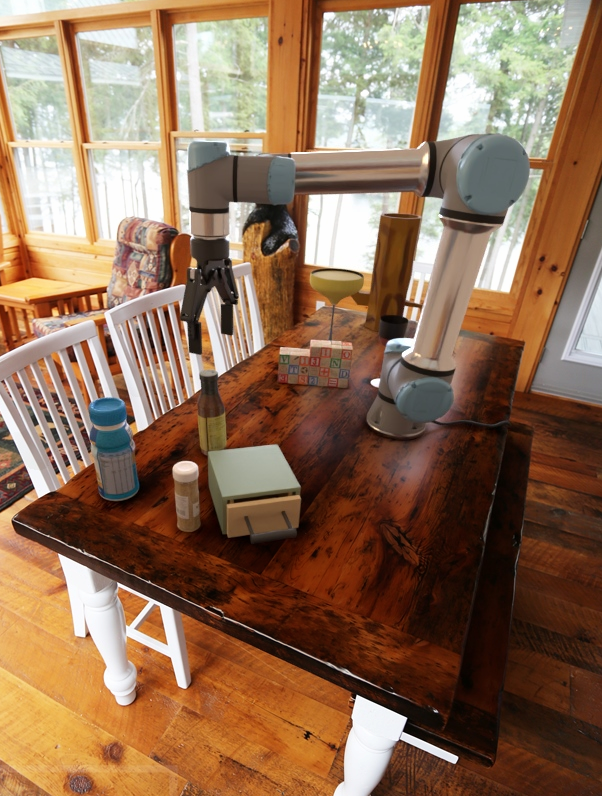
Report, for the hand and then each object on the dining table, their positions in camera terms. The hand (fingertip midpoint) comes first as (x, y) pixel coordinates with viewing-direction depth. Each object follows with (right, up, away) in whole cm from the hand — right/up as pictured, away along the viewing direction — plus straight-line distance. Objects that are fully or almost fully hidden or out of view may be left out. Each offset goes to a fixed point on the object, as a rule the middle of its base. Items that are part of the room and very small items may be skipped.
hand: (212, 343), depth 109 cm
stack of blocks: (+26, -1, +47) cm, 54 cm away
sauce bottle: (-1, -23, +12) cm, 26 cm away
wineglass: (+48, -1, +48) cm, 68 cm away
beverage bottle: (-19, -32, -3) cm, 37 cm away
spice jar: (-3, -38, -11) cm, 40 cm away
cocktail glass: (+35, +16, +74) cm, 84 cm away
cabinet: (+9, -34, -5) cm, 36 cm away
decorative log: (+59, +30, +96) cm, 117 cm away
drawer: (+10, -37, -11) cm, 39 cm away
